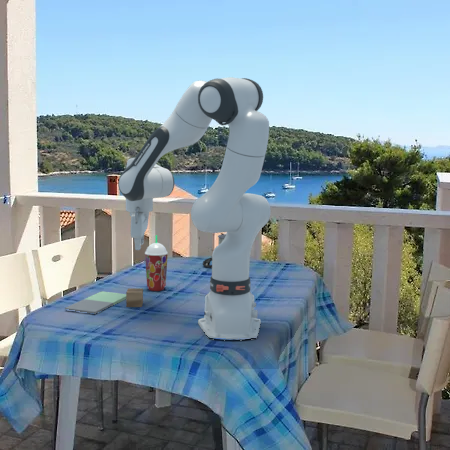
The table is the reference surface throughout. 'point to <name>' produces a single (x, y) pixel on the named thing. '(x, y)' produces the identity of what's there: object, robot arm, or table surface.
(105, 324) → the table surface
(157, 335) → the table surface
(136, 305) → the walnut block
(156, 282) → the smoothie
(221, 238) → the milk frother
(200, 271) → the table surface
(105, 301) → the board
